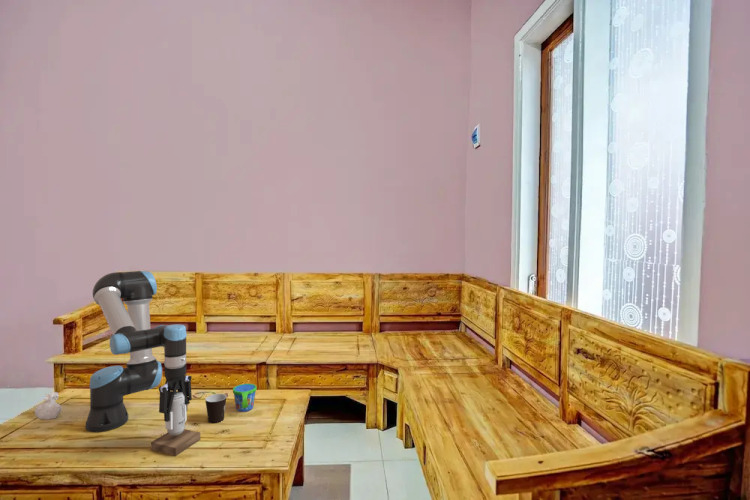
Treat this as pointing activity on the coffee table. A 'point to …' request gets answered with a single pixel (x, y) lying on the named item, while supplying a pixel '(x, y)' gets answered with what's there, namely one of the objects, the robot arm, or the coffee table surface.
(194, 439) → the walnut board
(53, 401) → the tied plastic bag
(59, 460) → the coffee table surface
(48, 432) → the coffee table surface
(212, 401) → the coffee mug
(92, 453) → the coffee table surface
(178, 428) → the energy drink can
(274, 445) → the coffee table surface
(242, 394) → the snack cup
